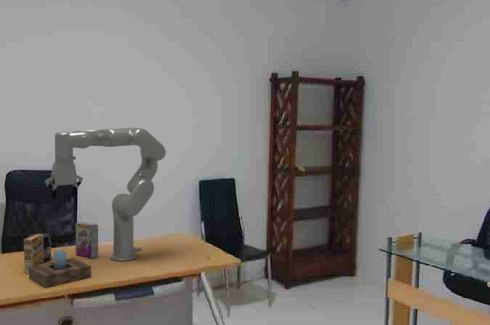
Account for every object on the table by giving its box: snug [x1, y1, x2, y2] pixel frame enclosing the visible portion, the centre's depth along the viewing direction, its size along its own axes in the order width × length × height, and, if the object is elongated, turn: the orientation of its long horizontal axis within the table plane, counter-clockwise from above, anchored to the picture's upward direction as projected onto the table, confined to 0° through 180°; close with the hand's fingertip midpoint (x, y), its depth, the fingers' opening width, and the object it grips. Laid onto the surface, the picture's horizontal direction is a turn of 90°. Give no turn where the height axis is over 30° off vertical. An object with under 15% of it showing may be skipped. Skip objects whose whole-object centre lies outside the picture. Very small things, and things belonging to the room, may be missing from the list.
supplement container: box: [28, 233, 52, 263], centre depth 234 cm, size 10×10×12 cm
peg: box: [53, 250, 67, 270], centre depth 211 cm, size 5×5×10 cm
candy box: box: [23, 233, 45, 274], centre depth 219 cm, size 9×4×15 cm, turn 171°
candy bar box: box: [74, 221, 99, 259], centre depth 242 cm, size 11×5×16 cm, turn 59°
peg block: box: [28, 257, 92, 289], centre depth 210 cm, size 20×16×5 cm
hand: (64, 197), depth 222 cm, fingers open, 9 cm apart
